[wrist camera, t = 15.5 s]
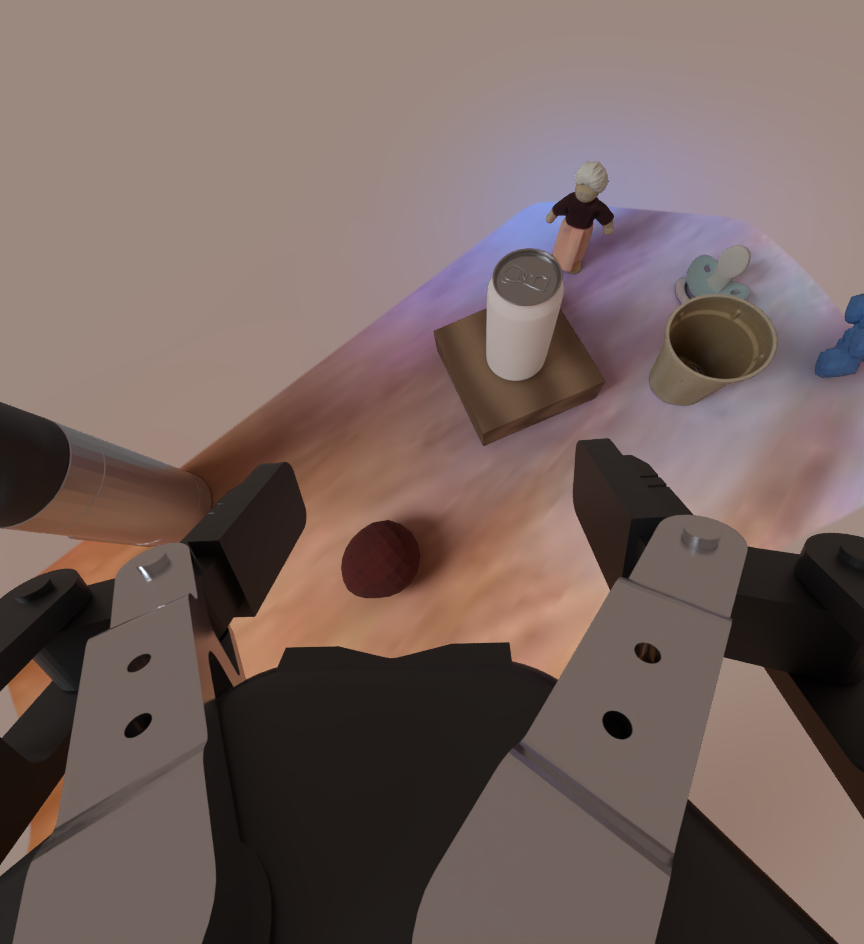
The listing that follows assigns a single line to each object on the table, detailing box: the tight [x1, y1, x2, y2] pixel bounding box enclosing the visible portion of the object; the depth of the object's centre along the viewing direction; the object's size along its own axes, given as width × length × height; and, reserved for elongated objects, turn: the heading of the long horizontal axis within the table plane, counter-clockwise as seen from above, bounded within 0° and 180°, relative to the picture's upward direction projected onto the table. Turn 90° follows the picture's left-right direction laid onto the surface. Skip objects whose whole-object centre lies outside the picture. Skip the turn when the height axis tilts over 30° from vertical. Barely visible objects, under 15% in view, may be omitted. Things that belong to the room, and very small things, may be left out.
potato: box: [341, 520, 420, 598], centre depth 40 cm, size 7×8×7 cm
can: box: [486, 248, 564, 381], centre depth 38 cm, size 6×6×12 cm
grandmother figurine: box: [546, 162, 614, 274], centre depth 45 cm, size 8×4×13 cm, turn 76°
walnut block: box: [434, 308, 605, 446], centre depth 46 cm, size 14×14×4 cm
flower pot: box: [650, 294, 777, 406], centre depth 41 cm, size 9×9×9 cm
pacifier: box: [676, 245, 751, 303], centre depth 44 cm, size 7×6×6 cm
